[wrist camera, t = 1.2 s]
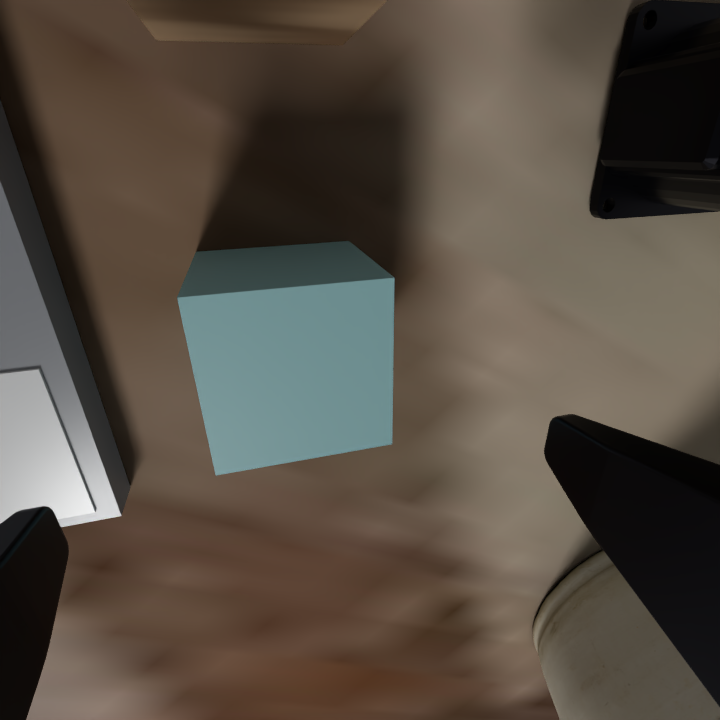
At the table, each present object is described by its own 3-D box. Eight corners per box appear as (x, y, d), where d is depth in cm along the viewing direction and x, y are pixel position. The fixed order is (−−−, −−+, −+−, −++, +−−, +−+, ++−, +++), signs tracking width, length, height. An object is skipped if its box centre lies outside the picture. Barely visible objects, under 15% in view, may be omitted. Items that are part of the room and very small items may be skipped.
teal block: (348, 240, 15) (394, 277, 11) (352, 369, 17) (392, 444, 13) (196, 251, 14) (177, 297, 9) (221, 386, 16) (216, 475, 12)
